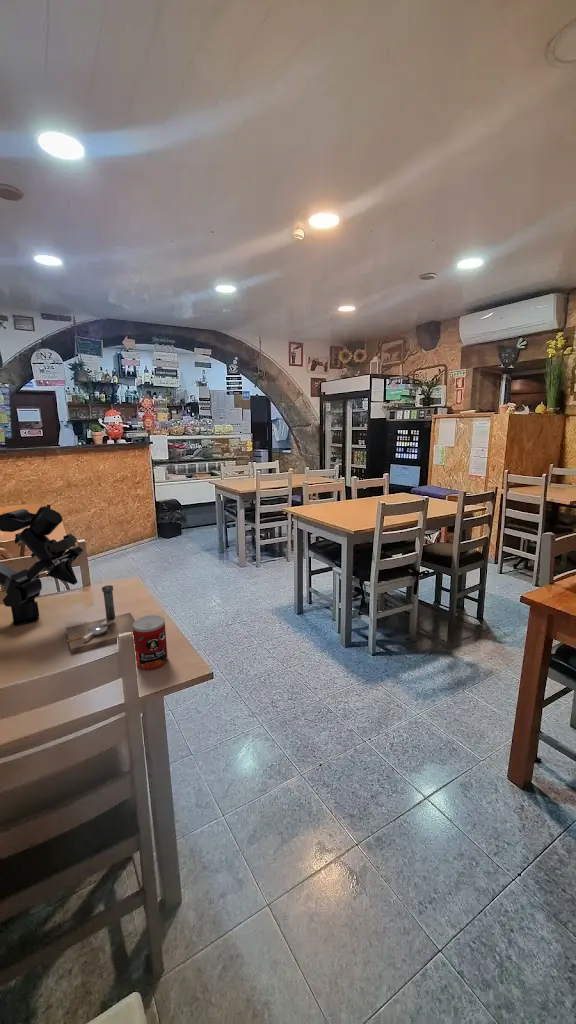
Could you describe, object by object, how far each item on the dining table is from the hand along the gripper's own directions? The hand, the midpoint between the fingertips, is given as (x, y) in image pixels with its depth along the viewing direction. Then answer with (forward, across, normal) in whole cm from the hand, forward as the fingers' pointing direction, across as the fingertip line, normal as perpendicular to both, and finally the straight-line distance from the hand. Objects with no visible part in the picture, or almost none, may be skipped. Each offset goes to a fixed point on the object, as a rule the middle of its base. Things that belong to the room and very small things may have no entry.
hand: (75, 583), depth 124 cm
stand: (+17, -5, +1) cm, 18 cm away
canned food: (+31, -17, -14) cm, 38 cm away
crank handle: (+15, -6, 0) cm, 17 cm away
